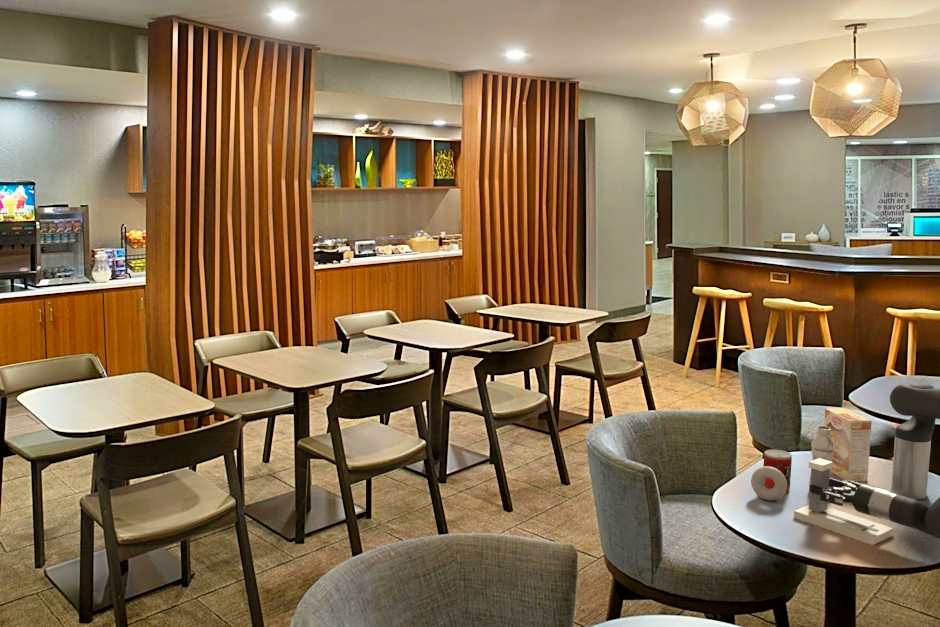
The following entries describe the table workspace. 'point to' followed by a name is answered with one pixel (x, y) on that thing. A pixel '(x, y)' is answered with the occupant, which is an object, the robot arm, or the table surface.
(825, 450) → the plastic bottle
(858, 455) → the coffeecake box
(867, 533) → the fader deck
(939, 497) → the robot arm
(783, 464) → the canned food
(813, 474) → the slider knob
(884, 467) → the table surface
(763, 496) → the donut
